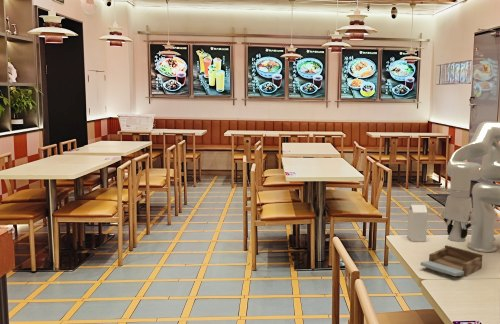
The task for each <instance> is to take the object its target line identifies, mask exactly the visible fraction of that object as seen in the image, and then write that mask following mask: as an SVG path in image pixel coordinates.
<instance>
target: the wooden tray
mask: <svg viewBox="0 0 500 324" xmlns="http://www.w3.org/2000/svg"><path fill="white" fill-rule="evenodd" d="M428 261H431V262H435V263H438V264H442V265H445V266H448V267H452V268H455V269H458V270H462V271H464V274H463V275H461V277H462V276H463V277H467V276H469V275H472V274H473V273H475V272H477V271H479V270H481V269H482V267H483V254H481V253H477V252H473V251H469V250H465V249H463V248H458V247H454V246H450V245H448V244H447V245H444V248H442V249H439V250H436V251H434V252H432V253H429V255H428Z"/></svg>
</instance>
